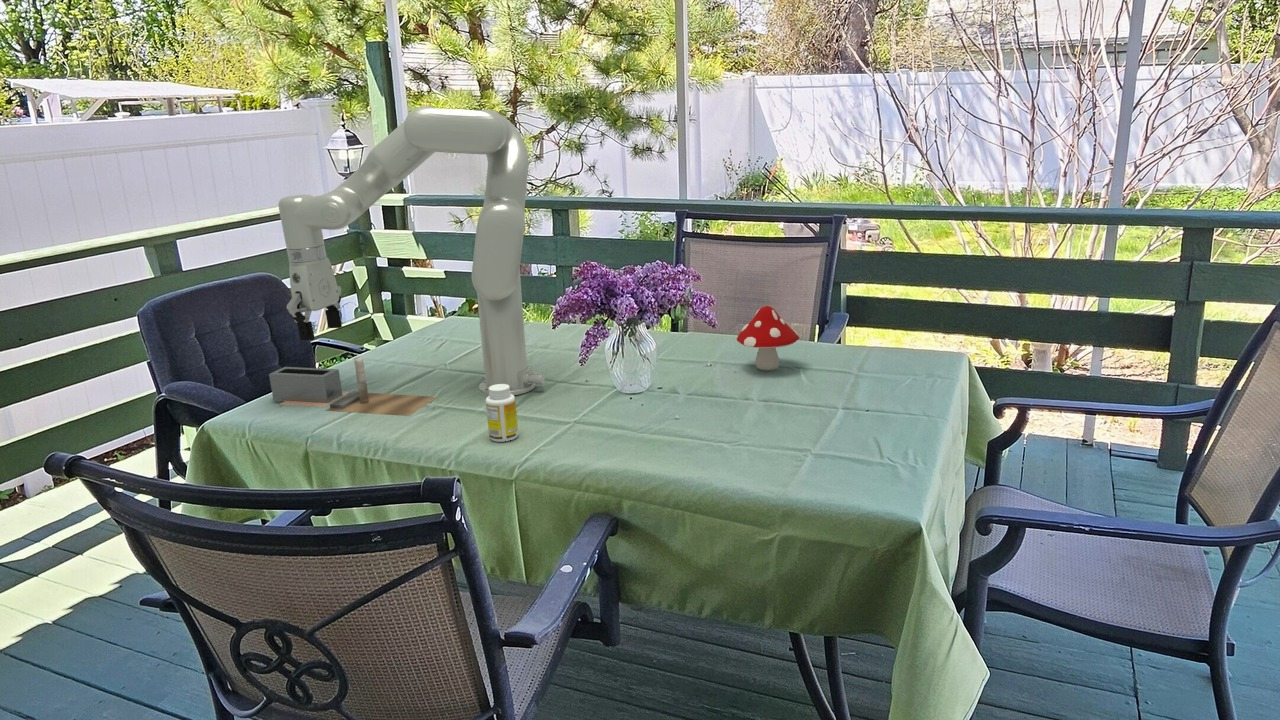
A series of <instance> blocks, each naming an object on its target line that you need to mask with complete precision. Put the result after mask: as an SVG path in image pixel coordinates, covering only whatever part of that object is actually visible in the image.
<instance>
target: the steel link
mask: <svg viewBox="0 0 1280 720" xmlns="http://www.w3.org/2000/svg"><path fill="white" fill-rule="evenodd" d="M268 377H269V382H270V388H271V393H272V394H271V395H272V400H273V401H280V402H281V401H283V402H285V401H298V402H315V403H329V402H331V401H333V400H335V399H336V400H338V399H339V398H338V397H340V396H342V391H343V388H342V381H341V375H340V370H339V369H338V368H336V369H335V368H318V367H317V368H315V367H296V366H293V367H292V366H284V367H282V368H279V369H277V370H275V371H272V372H271V373H269V374H268ZM342 397H343V396H342ZM337 398H338V399H337ZM340 398H341V397H340ZM336 400H335V401H336ZM333 402H334V401H333ZM331 403H332V402H331ZM329 404H330V403H329Z"/></svg>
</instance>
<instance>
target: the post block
mask: <svg viewBox="0 0 1280 720" xmlns="http://www.w3.org/2000/svg"><path fill="white" fill-rule="evenodd" d="M353 360H354V368H355V376H356V382H357V388H358V390H353V391H352V392H349V393H347V394H346V395H344V396H342V397H340V398H338V399H336V400H335V401H333V402H331V403H329V408H327V409H325V411H326V412H341V413H359V414H370V415H389V416H390V415H391V416H403V417H404V416H405V417H410V416H411V415H413V414H414V413H416V412H418V410H421V409H422V408H423V407H425V406H427V405H428V404H429V403H431V402H432V401H433V400H434V401H435V399H438V396H433V395H431V396H430V395H413V394H398V393H397V394H396V393H395V394H394V393H380V392H379V393H375V392H374V393H373V392H368V386H367V385H368V384H367V378H366V372H365V371H366V370H365V364H364V357H363V356H355V357H354V358H353Z"/></svg>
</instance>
